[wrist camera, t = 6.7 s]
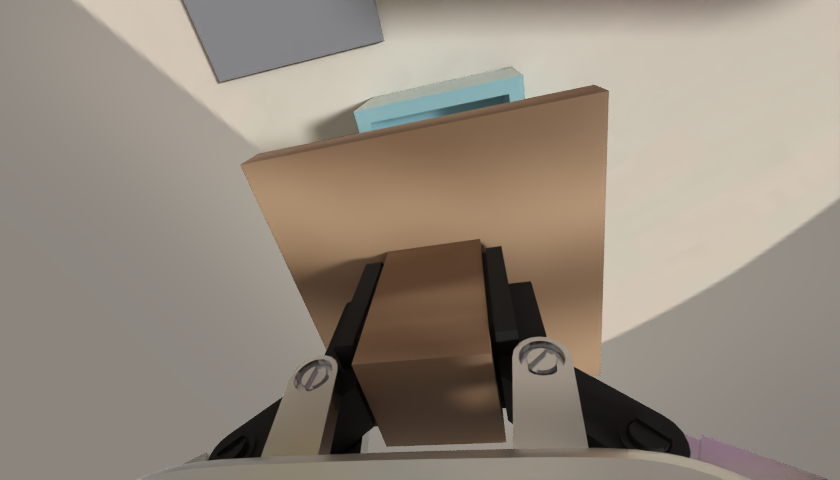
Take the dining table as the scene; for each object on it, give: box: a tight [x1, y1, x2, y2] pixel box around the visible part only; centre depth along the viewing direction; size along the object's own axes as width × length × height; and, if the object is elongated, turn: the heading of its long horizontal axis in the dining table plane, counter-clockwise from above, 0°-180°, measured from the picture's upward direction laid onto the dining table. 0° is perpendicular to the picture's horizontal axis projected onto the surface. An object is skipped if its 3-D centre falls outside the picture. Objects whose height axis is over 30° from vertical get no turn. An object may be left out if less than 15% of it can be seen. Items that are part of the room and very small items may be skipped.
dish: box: [354, 67, 525, 133], centre depth 25 cm, size 10×10×5 cm
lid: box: [241, 85, 609, 446], centre depth 12 cm, size 11×11×6 cm
